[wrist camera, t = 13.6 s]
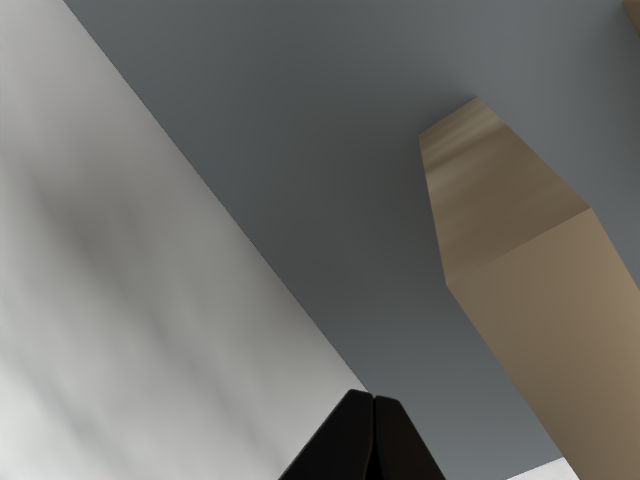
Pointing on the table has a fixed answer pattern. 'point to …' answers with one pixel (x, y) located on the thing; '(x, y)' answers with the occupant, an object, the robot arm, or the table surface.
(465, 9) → the mat
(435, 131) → the domino
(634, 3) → the domino
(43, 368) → the table surface
